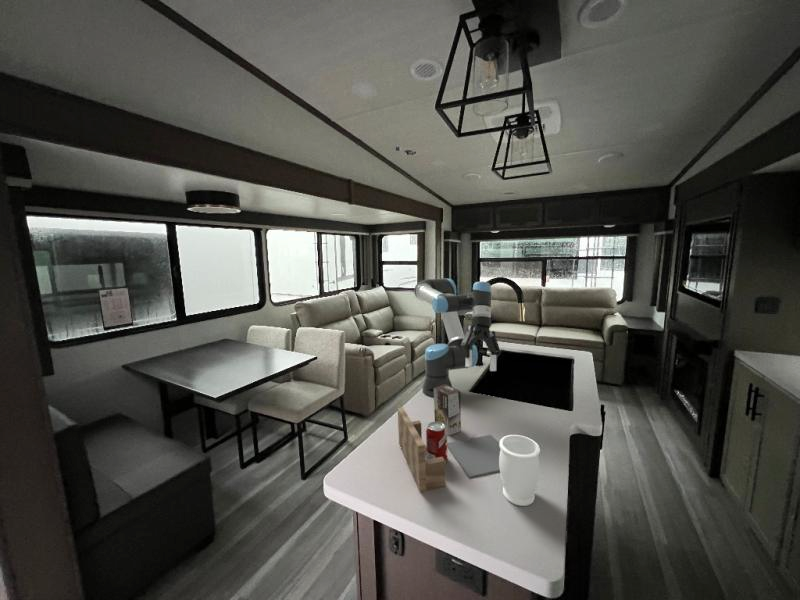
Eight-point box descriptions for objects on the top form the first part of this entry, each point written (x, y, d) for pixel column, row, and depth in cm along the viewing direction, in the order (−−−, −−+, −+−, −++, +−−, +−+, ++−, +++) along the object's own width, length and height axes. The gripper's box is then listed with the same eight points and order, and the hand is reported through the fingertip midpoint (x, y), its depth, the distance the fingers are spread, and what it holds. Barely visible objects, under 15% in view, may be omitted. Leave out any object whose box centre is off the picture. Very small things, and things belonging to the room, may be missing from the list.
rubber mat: (445, 444, 111) (445, 443, 111) (490, 436, 115) (490, 434, 115) (469, 478, 93) (469, 476, 93) (521, 466, 98) (521, 464, 98)
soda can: (434, 469, 98) (433, 433, 97) (423, 457, 104) (422, 424, 102) (451, 462, 101) (451, 427, 100) (439, 451, 107) (439, 418, 106)
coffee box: (461, 431, 119) (461, 391, 117) (448, 436, 116) (448, 395, 114) (446, 421, 127) (445, 383, 125) (434, 425, 124) (433, 387, 122)
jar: (535, 515, 79) (536, 461, 77) (494, 500, 84) (494, 449, 83) (541, 489, 88) (542, 440, 86) (504, 477, 93) (504, 430, 92)
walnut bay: (399, 444, 112) (397, 408, 110) (420, 441, 114) (419, 404, 112) (419, 492, 89) (418, 446, 87) (445, 486, 90) (444, 441, 89)
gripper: (465, 309, 121) (464, 364, 115) (509, 322, 133) (509, 372, 126) (453, 313, 127) (450, 365, 121) (495, 324, 139) (495, 372, 133)
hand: (481, 369), depth 124 cm, fingers open, 13 cm apart
